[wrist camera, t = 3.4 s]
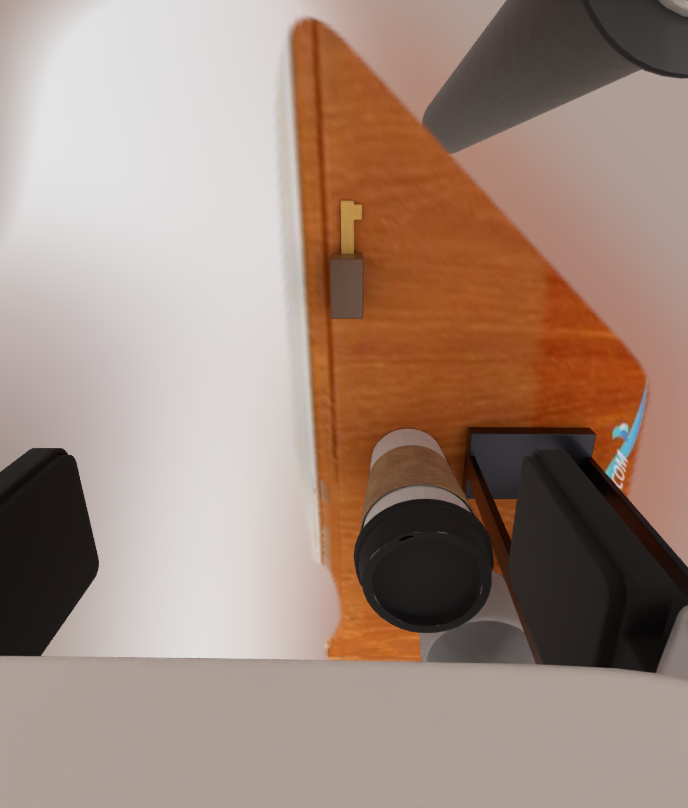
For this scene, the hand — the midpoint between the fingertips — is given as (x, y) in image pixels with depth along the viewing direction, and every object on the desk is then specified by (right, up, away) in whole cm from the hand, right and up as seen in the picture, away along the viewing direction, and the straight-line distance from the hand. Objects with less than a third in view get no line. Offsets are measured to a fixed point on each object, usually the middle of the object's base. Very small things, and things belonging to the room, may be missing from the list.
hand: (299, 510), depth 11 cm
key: (+1, +13, +26) cm, 29 cm away
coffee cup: (+6, -2, +32) cm, 33 cm away
